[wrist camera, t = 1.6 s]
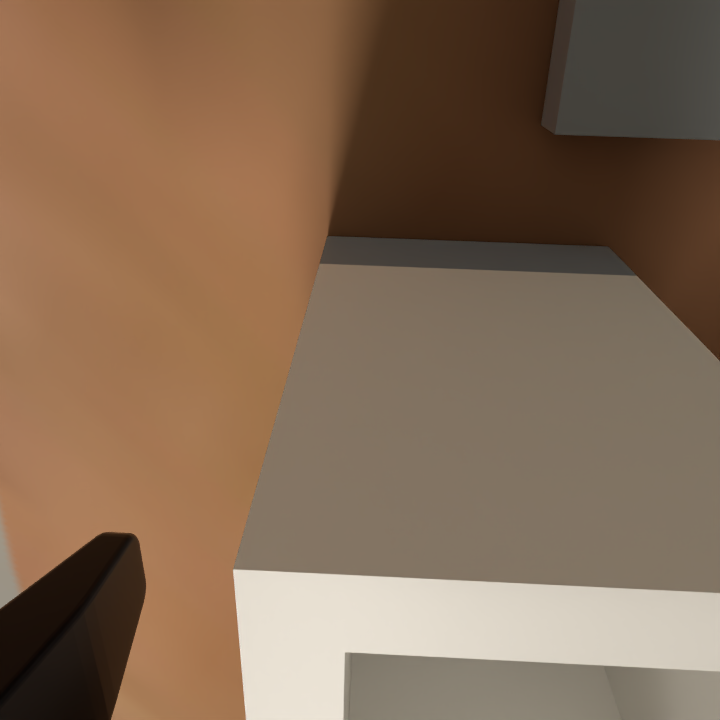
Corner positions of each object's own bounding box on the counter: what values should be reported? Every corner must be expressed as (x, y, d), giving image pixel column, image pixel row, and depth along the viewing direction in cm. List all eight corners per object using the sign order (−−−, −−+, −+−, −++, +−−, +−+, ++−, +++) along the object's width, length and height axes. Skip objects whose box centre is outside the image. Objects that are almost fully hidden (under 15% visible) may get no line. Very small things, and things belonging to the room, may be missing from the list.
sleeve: (560, 473, 14) (740, 945, 7) (326, 462, 14) (263, 917, 7) (608, 246, 12) (958, 604, 4) (327, 236, 12) (233, 568, 5)
